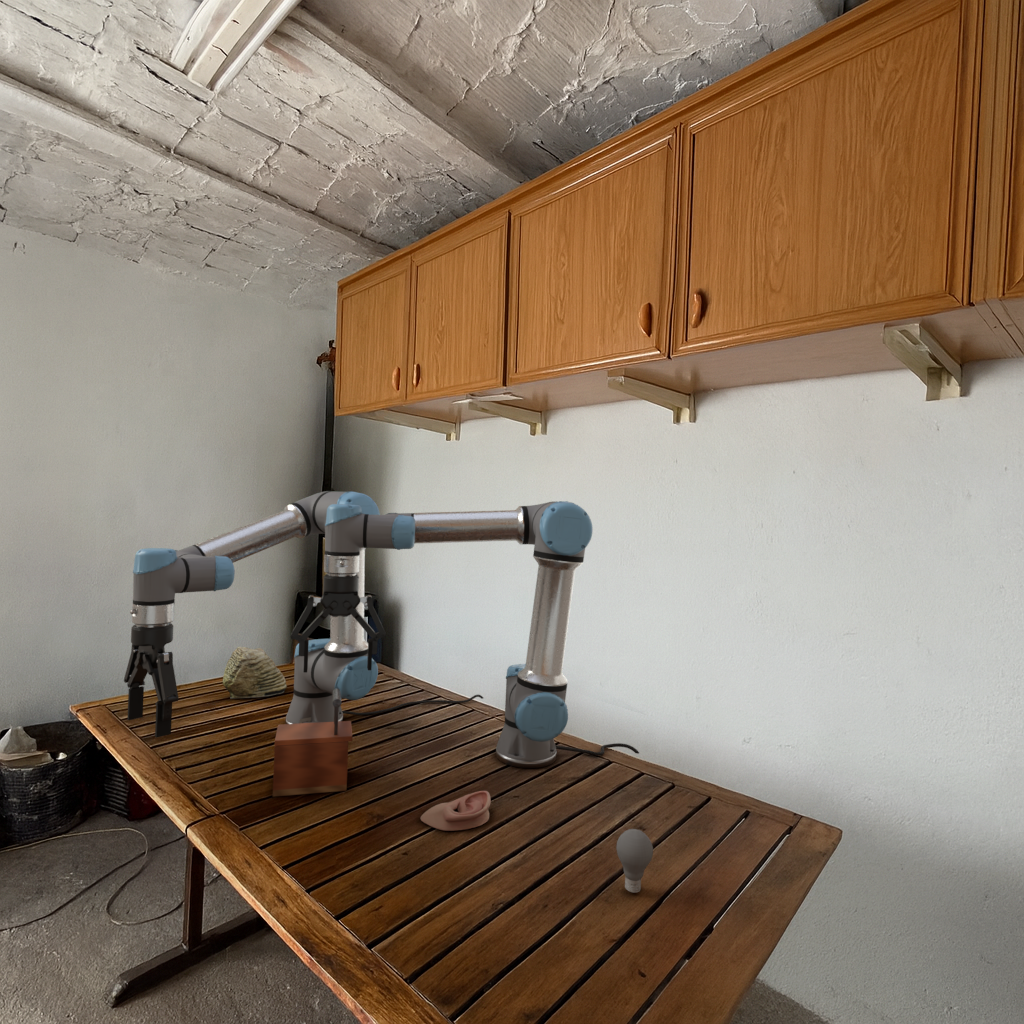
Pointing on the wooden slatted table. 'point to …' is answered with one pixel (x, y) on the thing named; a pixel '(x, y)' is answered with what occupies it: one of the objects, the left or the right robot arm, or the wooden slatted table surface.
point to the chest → (310, 768)
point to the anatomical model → (459, 812)
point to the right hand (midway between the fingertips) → (337, 669)
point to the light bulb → (634, 857)
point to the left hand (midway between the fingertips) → (148, 726)
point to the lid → (316, 729)
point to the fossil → (252, 674)
